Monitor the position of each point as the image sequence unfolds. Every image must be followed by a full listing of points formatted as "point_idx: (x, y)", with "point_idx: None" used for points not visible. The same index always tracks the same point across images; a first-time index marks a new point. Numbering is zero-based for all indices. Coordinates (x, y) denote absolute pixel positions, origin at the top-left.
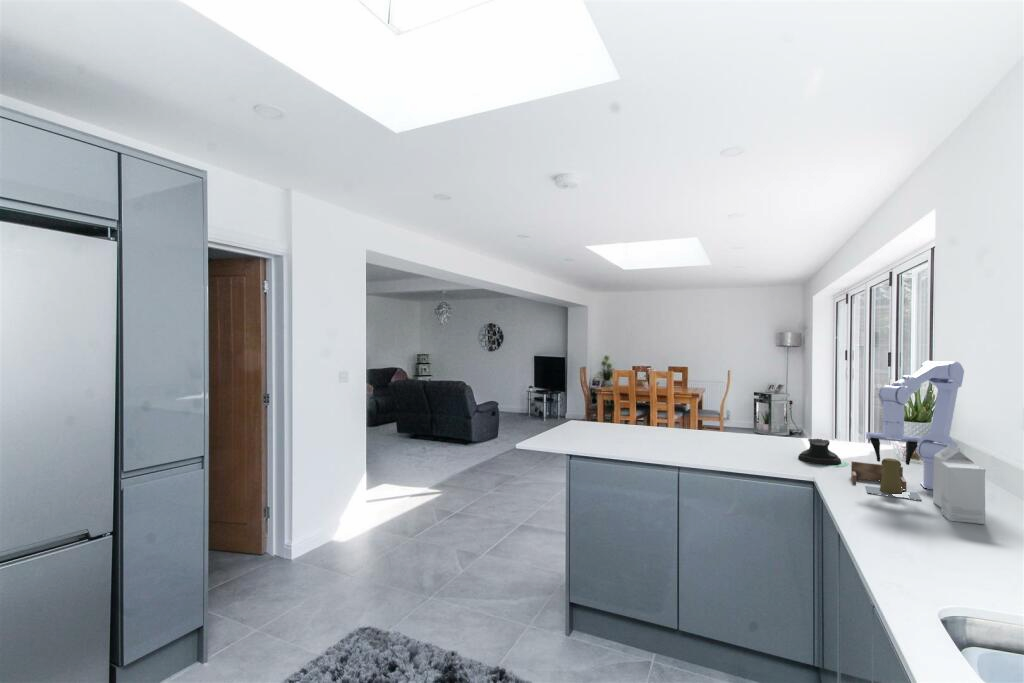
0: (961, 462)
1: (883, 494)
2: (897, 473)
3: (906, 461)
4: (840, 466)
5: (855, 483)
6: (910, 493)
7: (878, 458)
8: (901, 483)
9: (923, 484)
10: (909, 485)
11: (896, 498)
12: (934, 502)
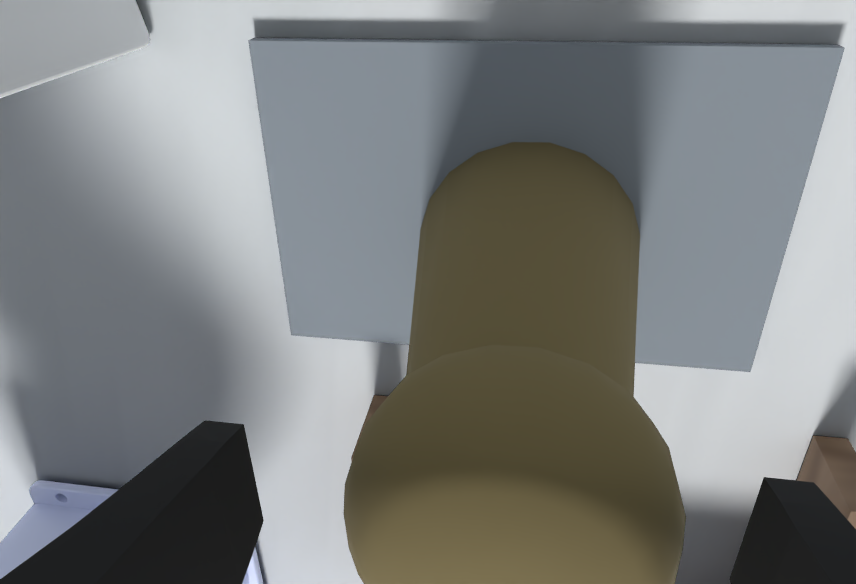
0: None
1: (646, 54)
2: (436, 329)
3: (216, 490)
4: None
5: (823, 440)
6: (345, 275)
7: (838, 538)
8: None
9: (247, 576)
10: (341, 555)
11: (507, 2)
12: (132, 3)
